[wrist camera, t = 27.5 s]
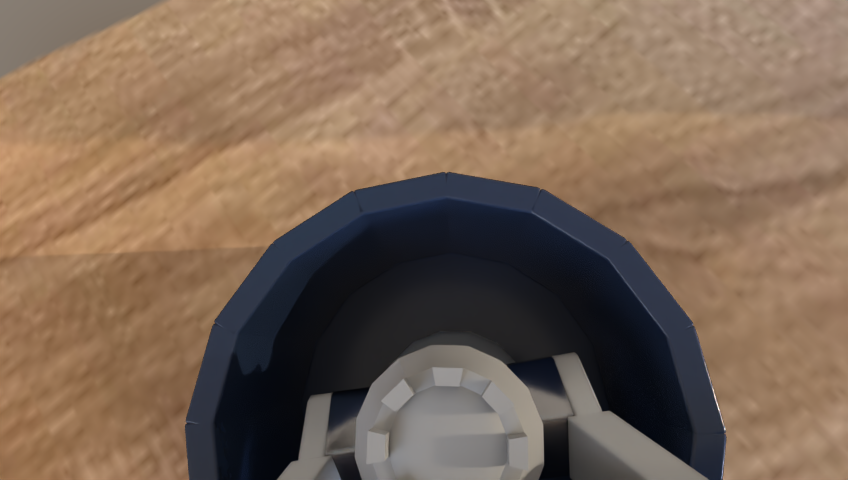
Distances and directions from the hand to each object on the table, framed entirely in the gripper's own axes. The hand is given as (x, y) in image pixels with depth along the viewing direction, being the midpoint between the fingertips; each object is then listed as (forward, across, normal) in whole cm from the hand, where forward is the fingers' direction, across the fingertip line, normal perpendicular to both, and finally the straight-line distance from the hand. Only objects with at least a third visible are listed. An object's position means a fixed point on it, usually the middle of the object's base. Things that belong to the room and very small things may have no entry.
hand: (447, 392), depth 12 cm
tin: (+3, 0, -4) cm, 5 cm away
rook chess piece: (+3, 0, -4) cm, 5 cm away
